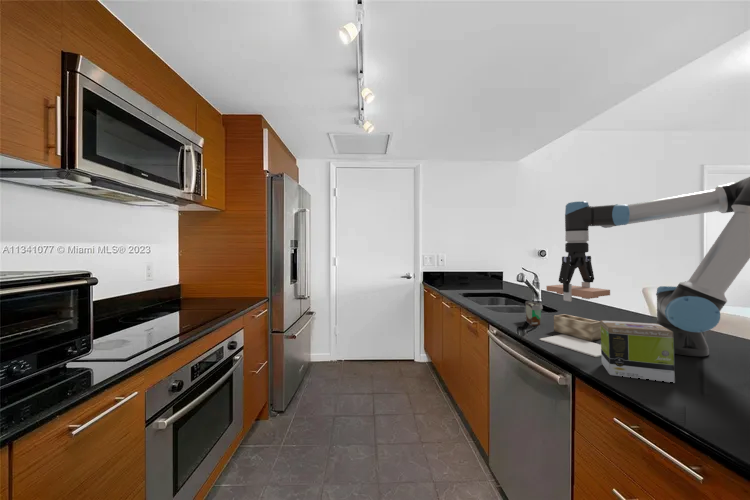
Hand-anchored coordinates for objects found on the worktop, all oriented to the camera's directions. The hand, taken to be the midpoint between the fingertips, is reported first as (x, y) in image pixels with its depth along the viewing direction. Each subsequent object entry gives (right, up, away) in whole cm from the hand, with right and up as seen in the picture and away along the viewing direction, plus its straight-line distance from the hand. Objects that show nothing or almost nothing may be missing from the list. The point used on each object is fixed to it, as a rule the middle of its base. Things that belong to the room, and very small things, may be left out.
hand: (576, 299), depth 119 cm
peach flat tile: (0, +2, 0) cm, 2 cm away
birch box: (+9, -17, +14) cm, 24 cm away
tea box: (0, -18, -26) cm, 32 cm away
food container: (+1, -17, +33) cm, 38 cm away
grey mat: (0, -18, 0) cm, 18 cm away
